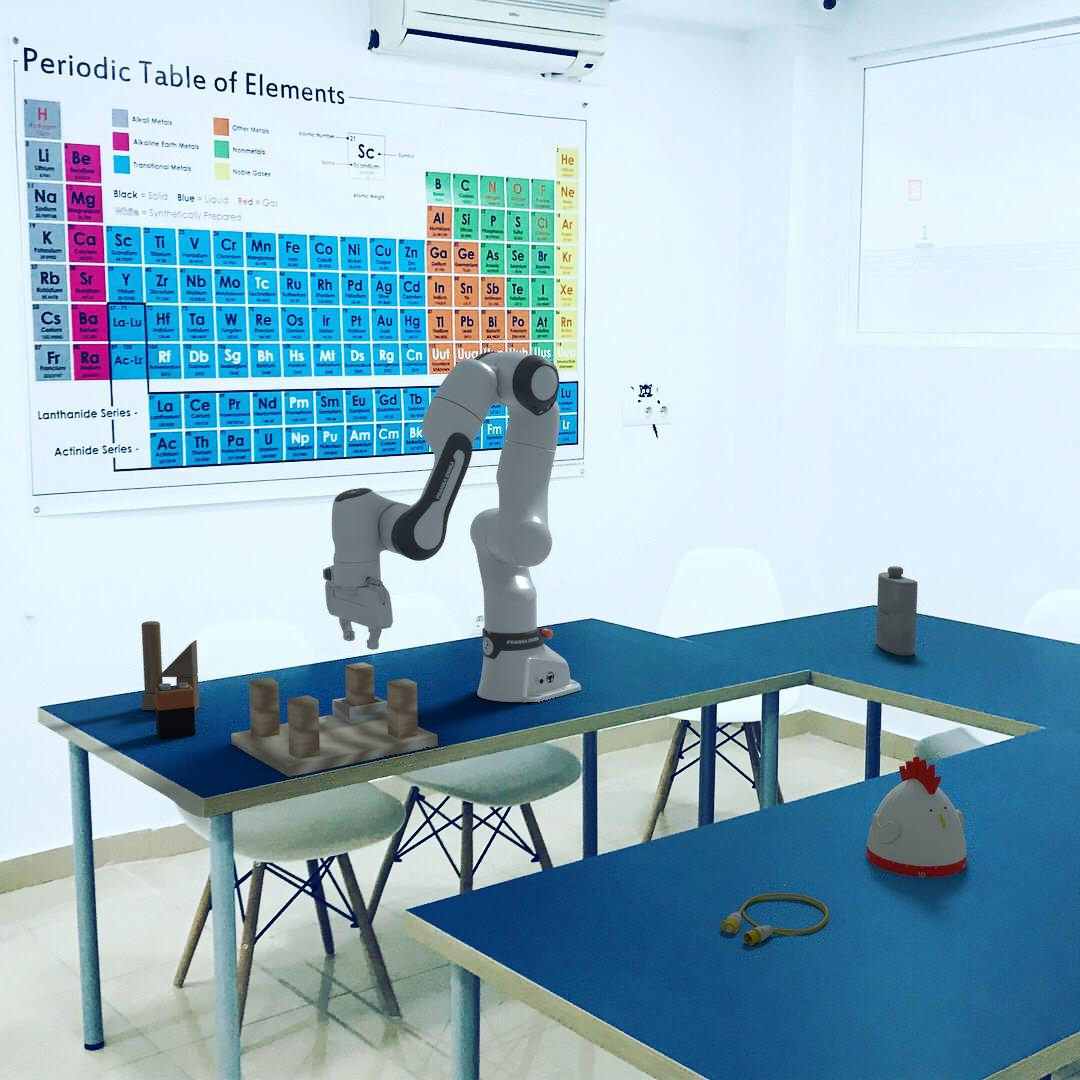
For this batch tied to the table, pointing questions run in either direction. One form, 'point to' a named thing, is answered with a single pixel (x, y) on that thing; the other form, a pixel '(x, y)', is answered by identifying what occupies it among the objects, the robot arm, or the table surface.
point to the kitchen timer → (917, 827)
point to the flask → (896, 612)
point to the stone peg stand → (330, 729)
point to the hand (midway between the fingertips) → (360, 644)
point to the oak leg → (359, 684)
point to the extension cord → (765, 931)
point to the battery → (175, 710)
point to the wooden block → (180, 667)
